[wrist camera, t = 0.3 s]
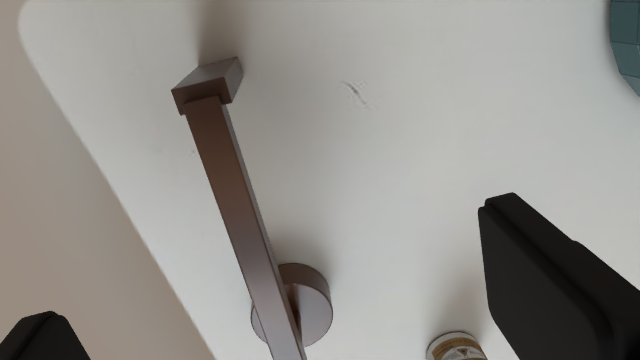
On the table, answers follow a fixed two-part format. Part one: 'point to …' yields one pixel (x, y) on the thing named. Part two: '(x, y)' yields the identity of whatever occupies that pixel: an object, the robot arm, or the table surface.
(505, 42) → the table surface
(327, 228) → the table surface
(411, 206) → the table surface
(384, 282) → the table surface
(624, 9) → the bowl
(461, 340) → the pill bottle
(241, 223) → the ladle
